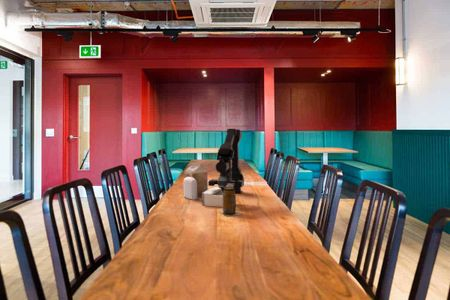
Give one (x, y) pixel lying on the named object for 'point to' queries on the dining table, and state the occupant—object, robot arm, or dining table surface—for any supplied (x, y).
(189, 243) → the dining table surface
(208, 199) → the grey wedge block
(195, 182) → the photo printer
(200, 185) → the milk carton
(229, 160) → the robot arm
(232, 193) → the condiment
